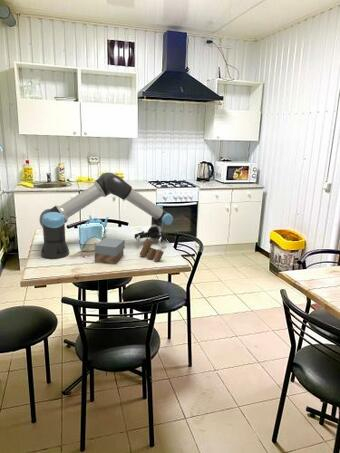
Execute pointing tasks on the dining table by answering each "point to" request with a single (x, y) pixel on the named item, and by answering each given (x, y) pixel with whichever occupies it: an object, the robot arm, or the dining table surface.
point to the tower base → (108, 258)
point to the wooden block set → (151, 251)
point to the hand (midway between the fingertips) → (148, 241)
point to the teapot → (97, 221)
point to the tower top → (109, 246)
